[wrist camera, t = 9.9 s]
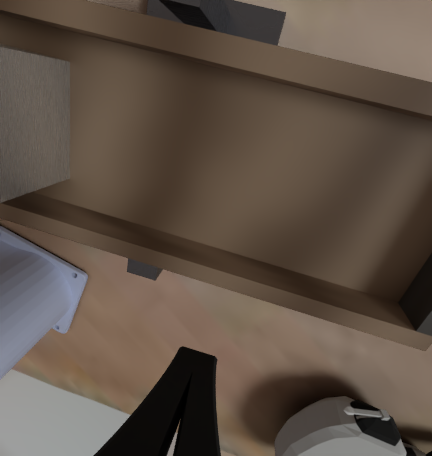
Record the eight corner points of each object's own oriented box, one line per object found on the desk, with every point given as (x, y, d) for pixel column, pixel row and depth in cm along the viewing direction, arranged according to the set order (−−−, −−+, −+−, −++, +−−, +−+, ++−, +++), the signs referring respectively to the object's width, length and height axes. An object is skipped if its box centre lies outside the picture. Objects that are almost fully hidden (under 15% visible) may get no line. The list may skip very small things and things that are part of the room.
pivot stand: (130, 222, 20) (79, 264, 15) (154, -15, 14) (83, -86, 9) (221, 249, 20) (202, 303, 15) (285, 15, 14) (294, -41, 8)
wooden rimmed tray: (-53, 168, 16) (-119, 180, 13) (-93, -29, 12) (-198, -67, 9) (396, 304, 14) (425, 351, 11) (520, 119, 10) (609, 124, 7)
